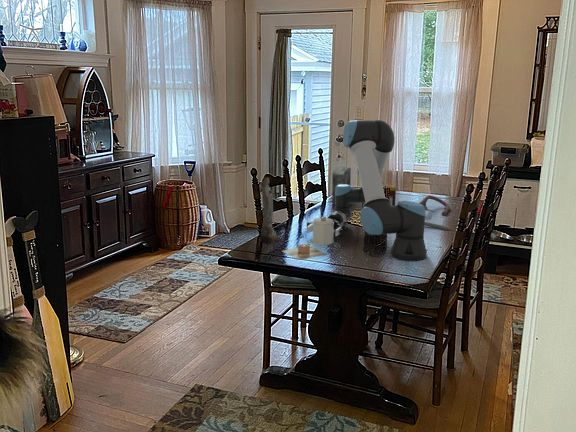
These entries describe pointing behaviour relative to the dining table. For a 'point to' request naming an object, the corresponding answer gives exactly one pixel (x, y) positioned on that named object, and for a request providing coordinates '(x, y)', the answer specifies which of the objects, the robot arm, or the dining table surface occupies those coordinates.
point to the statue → (267, 214)
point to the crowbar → (437, 226)
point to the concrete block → (340, 179)
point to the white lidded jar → (323, 231)
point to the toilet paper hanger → (437, 201)
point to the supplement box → (392, 194)
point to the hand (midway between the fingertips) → (321, 231)
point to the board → (298, 256)
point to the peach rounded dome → (303, 249)
